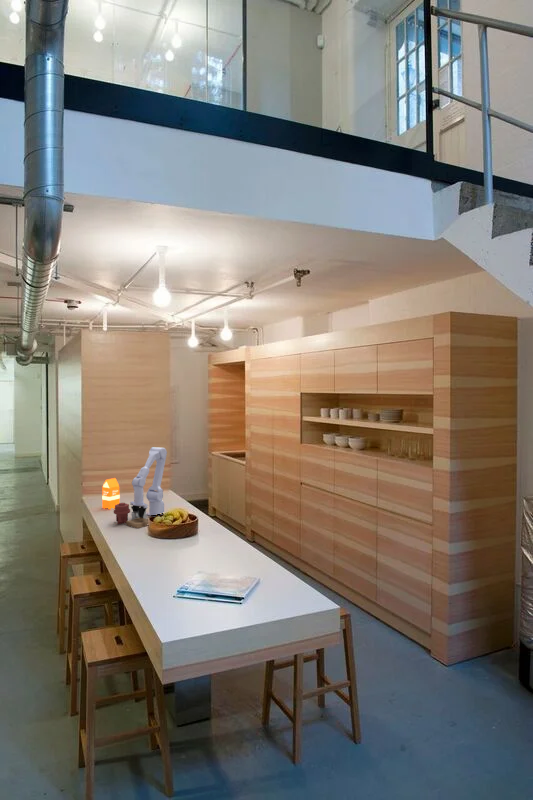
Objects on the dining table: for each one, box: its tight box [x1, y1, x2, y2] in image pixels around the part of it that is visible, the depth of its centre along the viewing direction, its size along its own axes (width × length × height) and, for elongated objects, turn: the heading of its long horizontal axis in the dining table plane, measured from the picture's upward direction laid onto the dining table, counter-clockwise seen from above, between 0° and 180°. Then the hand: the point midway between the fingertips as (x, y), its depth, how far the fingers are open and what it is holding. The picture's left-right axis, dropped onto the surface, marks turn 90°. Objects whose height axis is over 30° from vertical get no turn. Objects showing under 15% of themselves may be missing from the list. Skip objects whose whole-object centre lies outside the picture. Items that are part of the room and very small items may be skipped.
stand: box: [125, 517, 149, 529], centre depth 320 cm, size 11×11×2 cm
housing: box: [131, 509, 147, 520], centre depth 331 cm, size 8×4×6 cm, turn 142°
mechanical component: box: [113, 502, 131, 525], centre depth 324 cm, size 12×10×10 cm
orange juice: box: [101, 477, 121, 510], centre depth 364 cm, size 8×9×20 cm
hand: (139, 517), depth 332 cm, fingers closed on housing, 4 cm apart
